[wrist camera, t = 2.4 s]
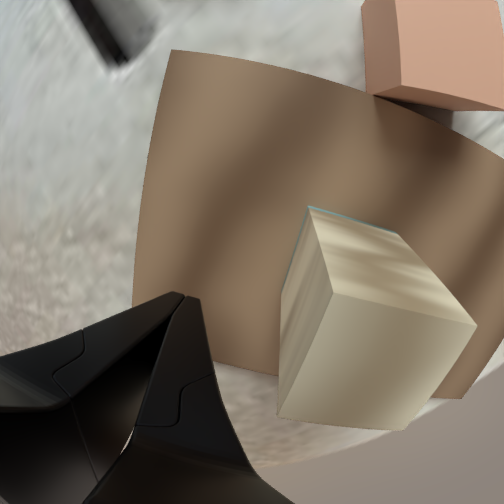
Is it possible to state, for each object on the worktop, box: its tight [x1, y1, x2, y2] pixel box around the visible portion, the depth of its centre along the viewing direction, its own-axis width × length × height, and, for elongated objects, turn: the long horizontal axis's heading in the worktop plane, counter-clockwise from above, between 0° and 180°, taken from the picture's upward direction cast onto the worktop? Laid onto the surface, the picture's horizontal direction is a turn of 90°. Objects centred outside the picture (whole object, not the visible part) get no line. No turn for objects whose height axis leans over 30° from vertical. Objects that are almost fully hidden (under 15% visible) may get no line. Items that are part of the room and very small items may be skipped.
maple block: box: [277, 206, 477, 431], centre depth 11 cm, size 4×4×8 cm
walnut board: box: [132, 50, 504, 399], centre depth 16 cm, size 24×16×1 cm, turn 76°
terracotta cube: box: [361, 0, 504, 111], centre depth 10 cm, size 5×5×5 cm
